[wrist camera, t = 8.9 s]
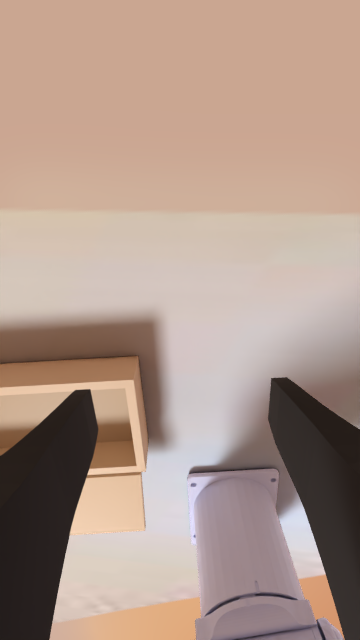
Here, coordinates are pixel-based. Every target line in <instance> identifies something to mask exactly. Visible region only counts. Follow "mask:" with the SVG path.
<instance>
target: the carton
mask: <svg viewBox="0 0 360 640" xmlns="http://www.w3.org/2000/svg"><path fill="white" fill-rule="evenodd" d="M83 389H90V390H91V395H92V399H93V404H94V409H95V414H96V419H97V424H98V429H99V430H98V435H97V441H96V446H95V451H94V455H93V459H92V462H91V465H90V468H89V471H88V474H87V475H97V474H113V473H130V472H146V463H147V452H148V432H147V424H146V416H145V408H144V399H143V391H142V383H141V375H140V366H139V358H138V356H126V357H109V358H92V359H75V360H58V361H41V362H24V363H7V364H0V456H1V455H2V454H4V453H5V452H6V451H8V450H9V449H10V448H11V447H13V446H14V445H15V444H16V443H18V442H19V441H20V440H21V439H22V438H24V437H25V436H26V435H27V434H28V433H29V432H30V431H32V430H33V429H34V428H35V427H36V426H37V425H39V424H40V423H41V422H42V421H43V420H44V419H45V418H46V417H47V416H48V415H49V414H50V413H51V412H52V411H54V410H55V409H56V408H57V407H58V406H59V405H60V404H61V403H62V402H63V401H64V400H65V399H66V398H67V397H68V396H69V395H70V394H71V393H72V392H73V391H75V390H83Z"/></svg>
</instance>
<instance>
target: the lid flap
mask: <svg viewBox="0 0 360 640" xmlns="http://www.w3.org/2000/svg"><path fill="white" fill-rule="evenodd" d="M145 526H146V525H145V512H144V499H143V487H142V474H141V472H130V473H113V474H97V475H87V477H86V481H85V484H84V487H83V490H82V493H81V496H80V499H79V502H78V505H77V508H76V512H75V515H74V519H73V522H72V526H71V531H70V535H81V534H97V533H114V532H130V531H145Z"/></svg>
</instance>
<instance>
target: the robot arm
mask: <svg viewBox="0 0 360 640" xmlns="http://www.w3.org/2000/svg"><path fill="white" fill-rule="evenodd" d="M268 420H269V423H270V427H271V430H272V434H273V437H274V440H275V443H276V445H277V448H278V450H279V452H280V454H281V457H282V459H283V461H284V463H285V466H286V468H287V470H288V472H289V475H290V477H291V479H292V481H293V483H294V486H295V488H296V490H297V492H298V494H299V497H300V499H301V502H302V504H303V507H304V509H305V512H306V515H307V518H308V521H309V524H310V527H311V530H312V533H313V536H314V539H315V542H316V545H317V548H318V551H319V554H320V557H321V560H322V563H323V567H324V570H325V573H326V576H327V580H328V583H329V586H330V589H331V593H332V596H333V599H334V603H335V606H336V610H337V613H338V616H339V620H340V624H341V627H342V631H343V635H344V638H345V640H360V429H358V428H356V427H355V426H353V425H352V424H350V423H349V422H347V421H346V420H344V419H343V418H341V417H339V416H338V415H336V414H335V413H334V412H332V411H331V410H329V409H328V408H327V407H325V406H324V405H322V404H321V403H320V402H318V401H317V400H316V399H314V398H313V397H312V396H310V395H309V394H308V393H307V392H305V391H304V390H303V389H301V388H300V387H299V386H298V385H296V384H295V383H294V382H292V381H291V380H290V379H288V378H287V377H285V378H271V391H270V403H269V416H268ZM98 430H99V429H98V424H97V419H96V414H95V409H94V404H93V399H92V395H91V390H90V389H83V390H75V391H73V392H72V393H71V394H70V395H69V396H68V397H67V398H66V399H65V400H64V401H63V402H62V403H61V404H60V405H59V406H58V407H57V408H56V409H55V410H54V411H52V412H51V413H50V414H49V415H48V416H47V417H46V418H45V419H44V420H43V421H42V422H41V423H40V424H39V425H37V426H36V427H35V428H34V429H33V430H32V431H30V432H29V433H28V434H27V435H26V436H25V437H24V438H22V439H21V440H20V441H19V442H18V443H16V444H15V445H14V446H13V447H11V448H10V449H9V450H8V451H6V452H5V453H4V454H2V455H1V456H0V640H49V638H50V632H51V626H52V621H53V615H54V610H55V604H56V599H57V593H58V588H59V583H60V578H61V573H62V568H63V563H64V558H65V553H66V549H67V544H68V540H69V535H70V531H71V526H72V522H73V519H74V515H75V512H76V508H77V505H78V502H79V499H80V496H81V493H82V490H83V487H84V484H85V481H86V477H87V474H88V471H89V468H90V465H91V462H92V459H93V455H94V451H95V446H96V441H97V435H98ZM187 481H188V498H189V514H190V531H191V543H192V544H193V545H195V546H196V550H197V564H198V578H199V592H200V607H201V618H198V619H196V620H195V627H196V640H344V639H343V637H342V635H341V633H340V632H339V630H338V629H337V628H335V627H334V626H333V625H332V624H330V623H329V622H328V620H327V619H326V618H320V619H317V620H316V621H317V623H316V621H315V617H314V615H313V611H312V608H311V605H310V602H309V600H305V598H304V595H303V592H302V589H301V586H300V583H299V580H298V577H297V574H296V571H295V568H294V564H293V561H292V558H291V555H290V552H289V549H288V546H287V543H286V540H285V537H284V534H283V531H282V528H281V524H280V521H279V518H278V515H277V512H276V501H277V492H278V483H279V472H278V470H277V469H257V470H241V471H224V472H208V473H192V474H190V475H188V477H187Z"/></svg>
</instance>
